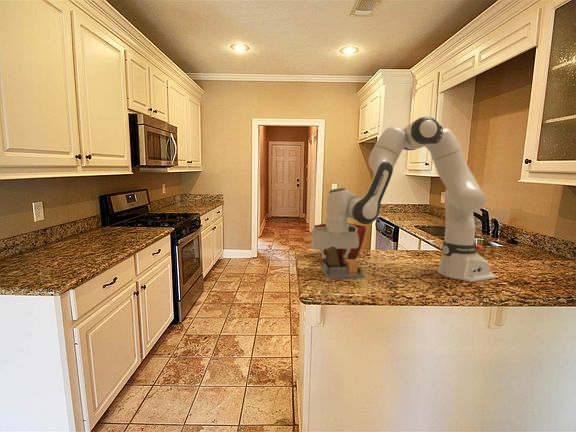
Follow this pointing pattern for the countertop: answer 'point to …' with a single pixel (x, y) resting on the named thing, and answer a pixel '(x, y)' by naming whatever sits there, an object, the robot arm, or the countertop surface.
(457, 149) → the robot arm
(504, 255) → the countertop surface
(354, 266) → the bracket block
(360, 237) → the plant pot
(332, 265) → the cork
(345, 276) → the grey tray with frame
